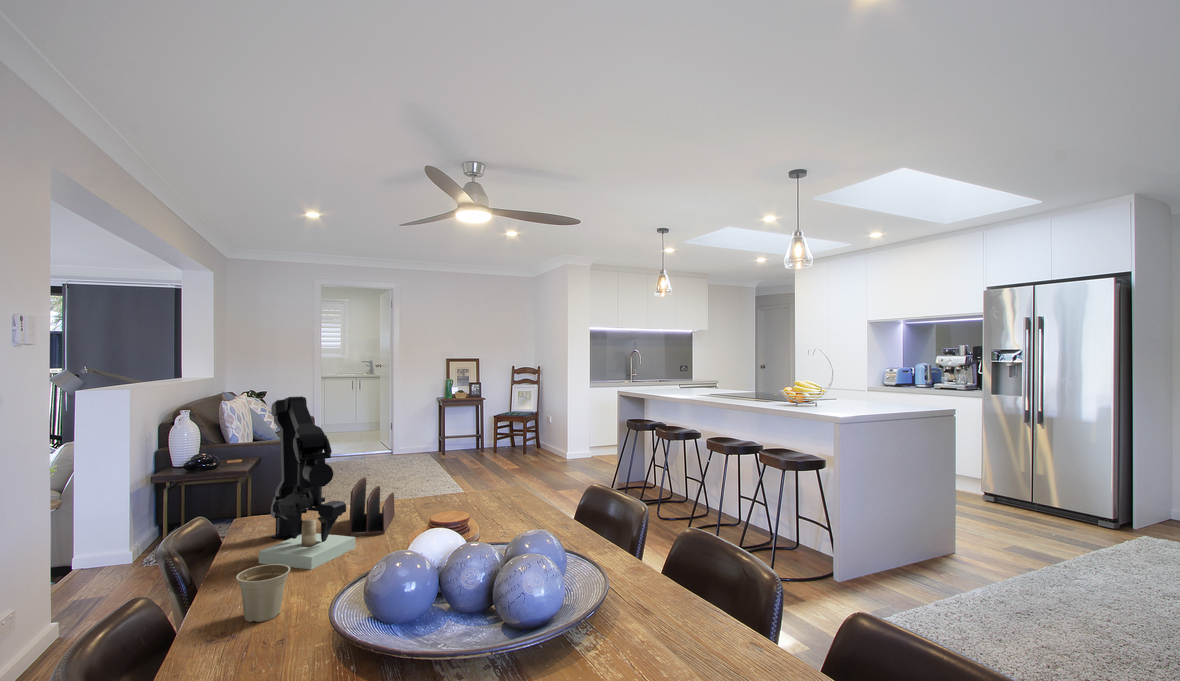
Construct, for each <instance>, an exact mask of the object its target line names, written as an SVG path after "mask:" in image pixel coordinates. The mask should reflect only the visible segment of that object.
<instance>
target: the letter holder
mask: <svg viewBox="0 0 1180 681" xmlns="http://www.w3.org/2000/svg"><path fill="white" fill-rule="evenodd" d="M366 496H367V477H362V478H360V479H359V480H358V481H357V482H356V484H355V485H354V486H353V488H352V490H351V492H350V501H349V503H350V504H349V521H348V522H349V525H348V526H349V527H348V528H349V529H348V536H350V537H358V536H357V535H364V536H375V535H376V536H378V535H379V534H381V535H385V533H386V532H387V530H388V528H389V527H390V525H391V523H392V521H393V519H394V517H395V516H396V514H395V493H394V492H391V493H390V494H388V496H387V498H386V500H385V501H384V502H383V506H382V508H380V507H381V486H380V485H376V486H375V487H374V488H373V489H372V491H370V493H369V495H368V498H367V497H366ZM366 498H367V500H366Z"/></svg>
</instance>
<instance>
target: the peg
mask: <svg viewBox="0 0 1180 681" xmlns="http://www.w3.org/2000/svg"><path fill="white" fill-rule="evenodd" d="M316 533H317V519H315V518H308V519H304V520H303V519H302V544H301V546H302V547H312V546H314V545H316Z"/></svg>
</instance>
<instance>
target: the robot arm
mask: <svg viewBox="0 0 1180 681" xmlns="http://www.w3.org/2000/svg"><path fill="white" fill-rule="evenodd" d="M270 408H271V411H270V412H271V416H272V417H273V422H274V424H275V425H276V426H277V428H278V429H279V431H280V433H279V434H280V469H281V471H280V472H281V473H280V474H281V476H280V477H281V479H280V482H279V484H278V485H277V487H276V489H275V496H273V499H272V503H271V506H270V515H271V517H272V518H273V519H275V533H274V534H272V535H271V536H270V537H271V538H272V539H279V540H280V539H282V540H288V539H291V538H292V539H295V538H297V536H299V535H301V534H302V521H303V518H302V514H307V512H308V511H310V512H318V513H317V514H318V515H319V517H317V520H318V521H319V522H320V534H321V540H322V542H324V541H326V539H327V537H328V535H329V534H330V532H331V530H332V528H333V527H334V525H335V523H336V521H337V519H338V518H339V516H342V515H343V514H344V513H346V512H347V504H346V503H345V501H341V500H340V501H339V500H331V501H328V502H326V497H323V495H322V493H323V491H322V490H323V488H322V487H326V485H329V483H331V482H332V479H333V477H334V470H333V468H332V467H331V465H329V464H328V463H326V459H331V458H332V456H331V455H332V447H331V444H330V440H329V438H328V436H327V435H326V434H325V432H324V431H323V428H322V427H320V426H317V425H316V424H315V423H314V421H313V419H312V415H311V414H310V411H309V408H308V404H307V398H306V396H305V397H304V396H288V397H285V398H284V399H276V400H275V401H274V402H273V403H272V404H271V407H270Z"/></svg>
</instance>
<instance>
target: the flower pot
mask: <svg viewBox="0 0 1180 681" xmlns="http://www.w3.org/2000/svg"><path fill="white" fill-rule="evenodd" d="M290 572H291V567H289V566H287V565H282V564H261V565H257V566H254V567H249V568H247V569H244V570H242V571H240V572H239V573H237V575H236V576H235V579H236V581H237V582H238V586H239V587H240V591H241V592H240V593H241V600H242V606H243V607H242V608H243V615H244V620H245V621H246V622H249V623H252V622H258V623H259V622H260V623H261V622H266V621H269V620H272V619H274V618H276V617H277V616H278V615H280V614H281V611H282V603H283V598H284V591H285V587H286V581H287V579H288V575H289V573H290Z"/></svg>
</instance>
